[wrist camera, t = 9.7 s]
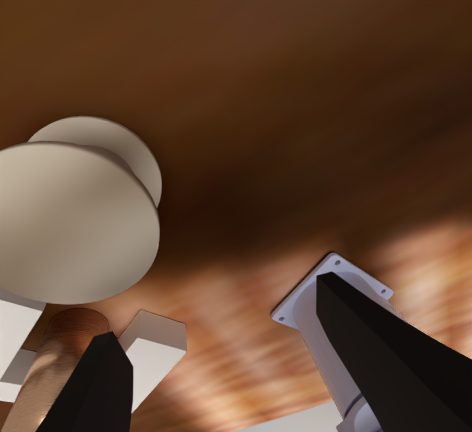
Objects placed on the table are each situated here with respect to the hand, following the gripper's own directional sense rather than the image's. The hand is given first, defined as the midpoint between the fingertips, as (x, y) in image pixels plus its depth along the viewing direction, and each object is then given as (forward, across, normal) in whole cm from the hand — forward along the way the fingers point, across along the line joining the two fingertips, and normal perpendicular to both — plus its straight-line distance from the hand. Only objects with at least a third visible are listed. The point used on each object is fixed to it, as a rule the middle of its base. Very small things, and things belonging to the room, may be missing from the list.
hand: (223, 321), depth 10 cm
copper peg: (+9, +11, +8) cm, 16 cm away
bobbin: (+9, +5, -3) cm, 11 cm away
